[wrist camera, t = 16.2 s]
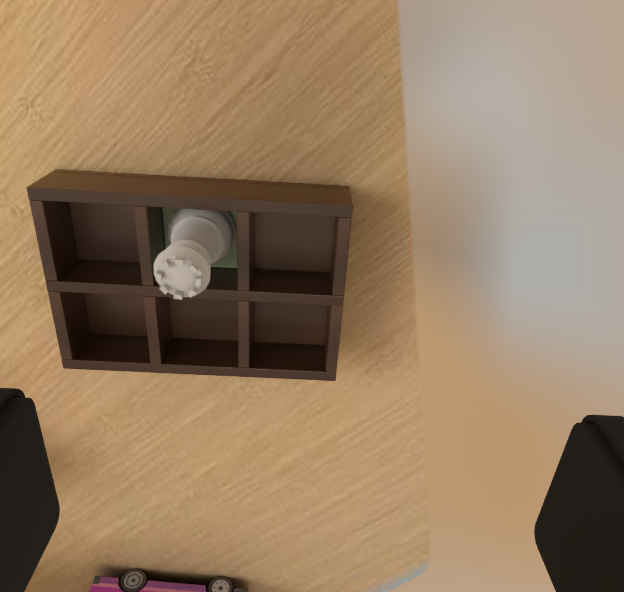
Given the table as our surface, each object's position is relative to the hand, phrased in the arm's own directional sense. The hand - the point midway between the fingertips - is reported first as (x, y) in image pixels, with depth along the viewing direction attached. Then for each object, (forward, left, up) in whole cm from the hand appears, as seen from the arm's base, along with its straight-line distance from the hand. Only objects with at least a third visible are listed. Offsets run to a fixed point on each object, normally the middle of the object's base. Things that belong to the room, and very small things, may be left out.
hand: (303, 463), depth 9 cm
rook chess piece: (+7, -7, -28) cm, 29 cm away
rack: (+10, -7, -28) cm, 31 cm away
